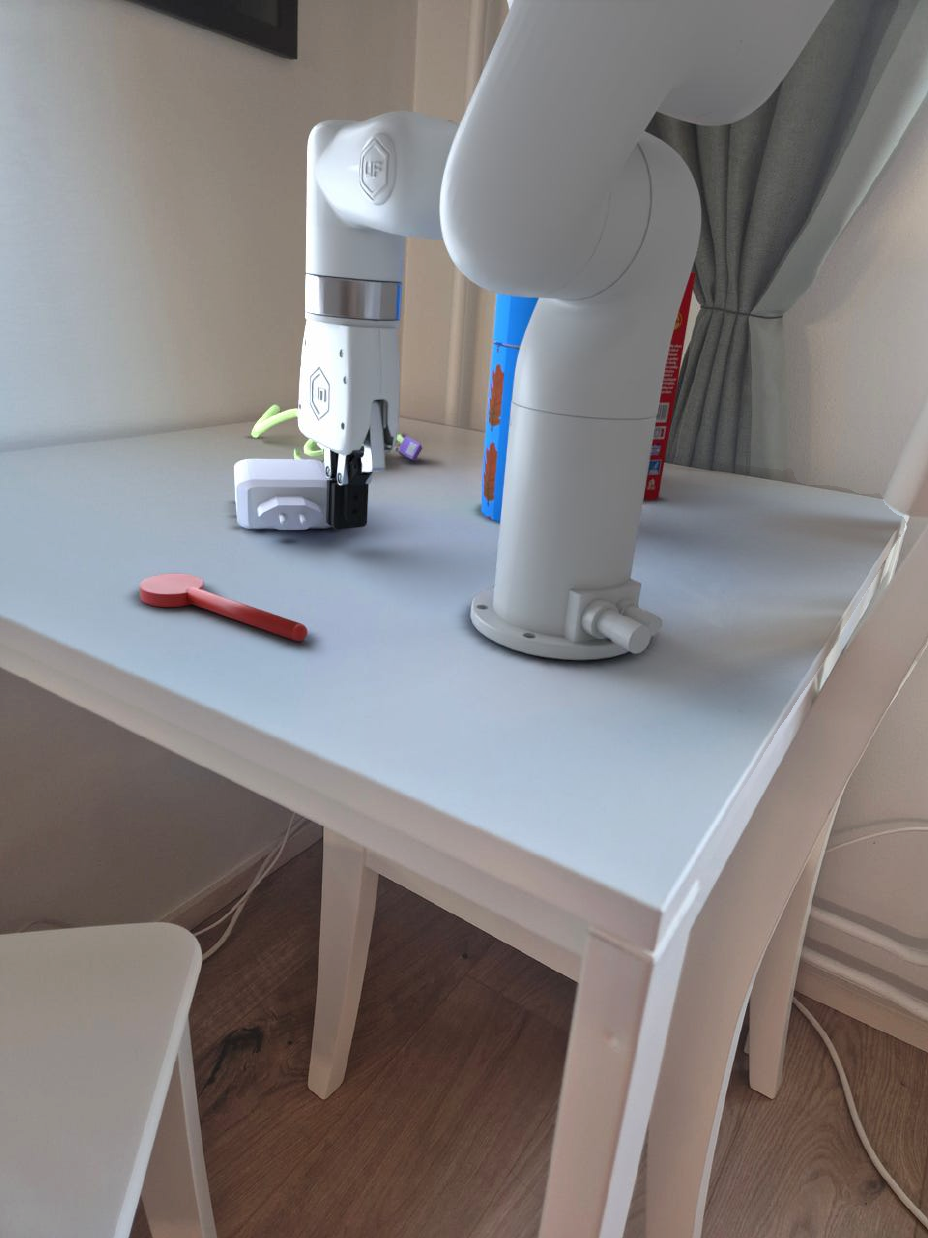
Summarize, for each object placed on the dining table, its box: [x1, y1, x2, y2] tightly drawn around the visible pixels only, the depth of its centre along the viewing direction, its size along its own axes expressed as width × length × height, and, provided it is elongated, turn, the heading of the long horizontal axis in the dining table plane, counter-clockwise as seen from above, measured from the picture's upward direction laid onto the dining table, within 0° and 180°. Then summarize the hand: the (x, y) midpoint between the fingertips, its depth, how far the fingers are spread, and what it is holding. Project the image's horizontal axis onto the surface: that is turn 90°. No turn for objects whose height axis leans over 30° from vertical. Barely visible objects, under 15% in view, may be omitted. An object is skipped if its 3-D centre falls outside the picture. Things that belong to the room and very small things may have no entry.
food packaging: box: [643, 271, 697, 501], centre depth 99 cm, size 15×5×25 cm, turn 26°
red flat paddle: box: [139, 572, 308, 642], centre depth 58 cm, size 15×4×1 cm, turn 58°
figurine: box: [250, 404, 423, 463], centre depth 110 cm, size 18×27×6 cm
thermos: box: [480, 293, 539, 523], centre depth 84 cm, size 11×11×25 cm
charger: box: [233, 458, 333, 531], centre depth 78 cm, size 5×9×15 cm
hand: (346, 525), depth 73 cm, fingers closed
